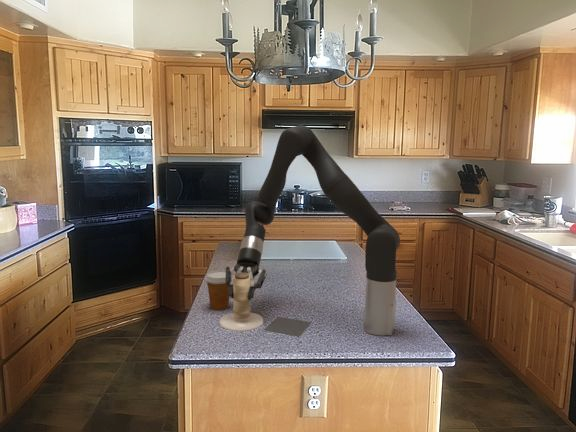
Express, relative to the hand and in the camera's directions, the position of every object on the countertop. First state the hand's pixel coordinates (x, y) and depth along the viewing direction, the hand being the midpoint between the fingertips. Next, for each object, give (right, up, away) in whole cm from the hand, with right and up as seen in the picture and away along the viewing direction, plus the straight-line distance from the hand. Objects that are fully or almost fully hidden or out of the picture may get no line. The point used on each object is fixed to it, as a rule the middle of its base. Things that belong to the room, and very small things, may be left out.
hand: (240, 297), depth 149 cm
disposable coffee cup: (-9, -6, +18) cm, 21 cm away
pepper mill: (0, -6, +3) cm, 7 cm away
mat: (+15, -10, +1) cm, 18 cm away
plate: (0, -9, +3) cm, 9 cm away
